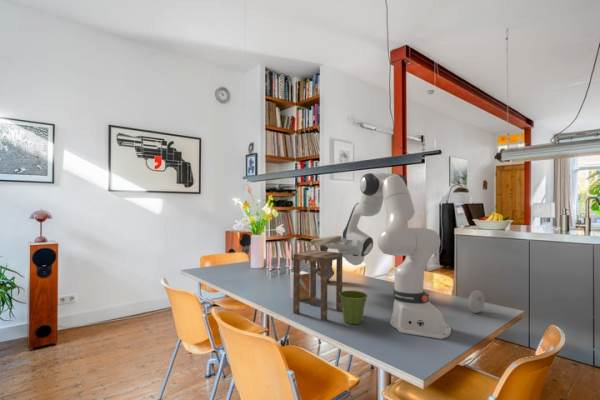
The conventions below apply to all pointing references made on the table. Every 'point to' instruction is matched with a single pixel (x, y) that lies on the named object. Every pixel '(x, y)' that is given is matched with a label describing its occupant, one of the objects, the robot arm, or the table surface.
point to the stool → (313, 258)
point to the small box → (301, 285)
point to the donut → (476, 301)
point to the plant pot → (353, 306)
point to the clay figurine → (329, 269)
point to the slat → (325, 240)
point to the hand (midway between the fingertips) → (336, 237)
